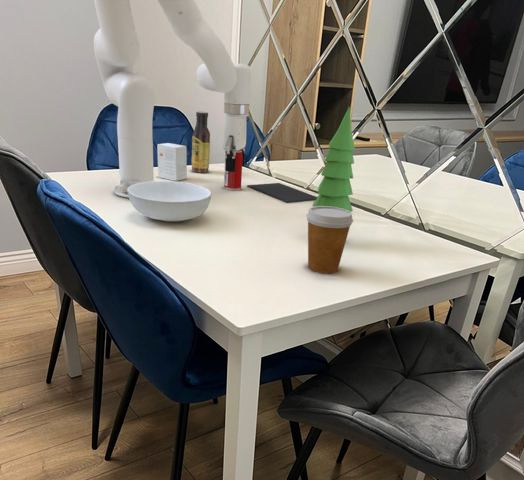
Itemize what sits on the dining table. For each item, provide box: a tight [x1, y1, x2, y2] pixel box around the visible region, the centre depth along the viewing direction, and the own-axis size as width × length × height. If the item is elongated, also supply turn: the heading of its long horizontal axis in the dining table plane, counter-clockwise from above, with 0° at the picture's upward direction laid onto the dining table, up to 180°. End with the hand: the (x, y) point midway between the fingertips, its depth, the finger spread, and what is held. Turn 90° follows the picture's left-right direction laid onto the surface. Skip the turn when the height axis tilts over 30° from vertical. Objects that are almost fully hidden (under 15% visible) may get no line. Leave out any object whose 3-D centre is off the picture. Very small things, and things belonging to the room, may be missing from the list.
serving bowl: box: [128, 180, 212, 223], centre depth 136 cm, size 21×21×7 cm
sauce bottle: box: [191, 110, 211, 174], centre depth 187 cm, size 7×6×20 cm
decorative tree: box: [312, 105, 356, 213], centre depth 123 cm, size 10×9×30 cm
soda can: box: [223, 150, 243, 191], centre depth 169 cm, size 6×6×12 cm
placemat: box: [247, 182, 318, 204], centre depth 172 cm, size 22×13×1 cm, turn 34°
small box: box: [156, 142, 188, 182], centre depth 176 cm, size 8×6×10 cm
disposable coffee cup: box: [305, 206, 354, 274], centre depth 110 cm, size 10×10×12 cm
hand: (235, 168), depth 169 cm, fingers open, 9 cm apart
